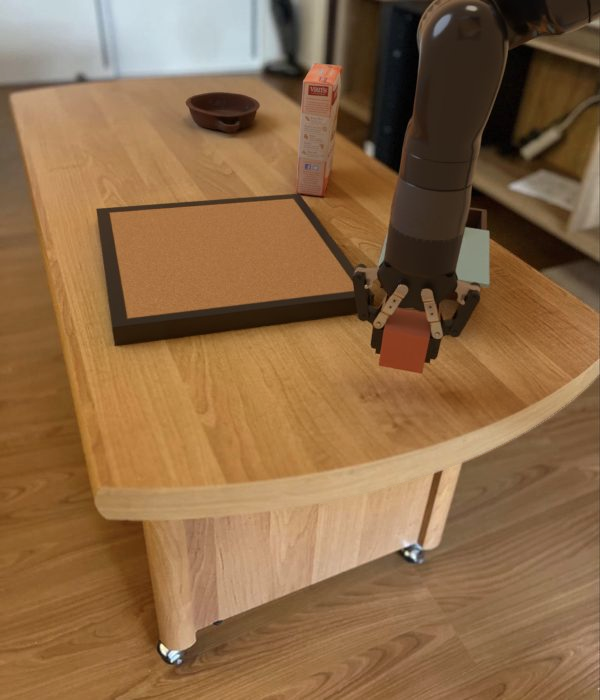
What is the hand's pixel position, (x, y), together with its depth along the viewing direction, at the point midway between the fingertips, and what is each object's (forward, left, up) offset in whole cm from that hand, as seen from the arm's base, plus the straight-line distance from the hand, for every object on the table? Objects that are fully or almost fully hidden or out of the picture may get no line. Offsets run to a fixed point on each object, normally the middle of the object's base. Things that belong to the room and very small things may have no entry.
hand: (403, 353), depth 73 cm
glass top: (-2, -21, +3) cm, 21 cm away
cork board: (+30, -22, -5) cm, 37 cm away
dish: (+52, -87, -5) cm, 101 cm away
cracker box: (+23, -59, -5) cm, 63 cm away
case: (-2, -31, -5) cm, 31 cm away
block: (0, 0, 0) cm, 0 cm away
